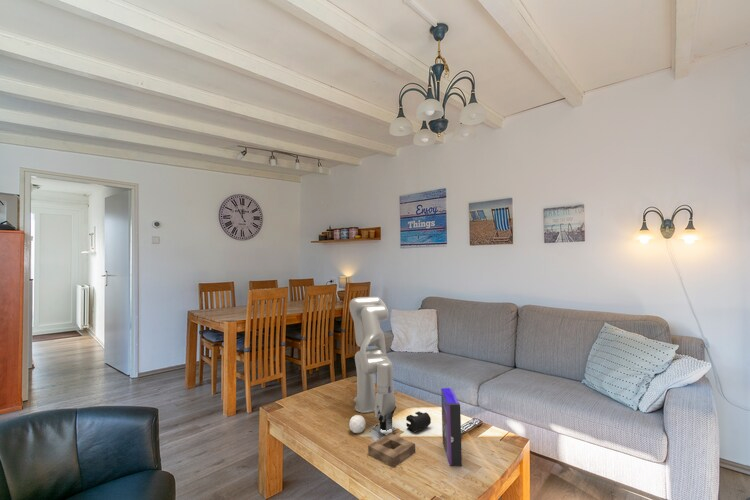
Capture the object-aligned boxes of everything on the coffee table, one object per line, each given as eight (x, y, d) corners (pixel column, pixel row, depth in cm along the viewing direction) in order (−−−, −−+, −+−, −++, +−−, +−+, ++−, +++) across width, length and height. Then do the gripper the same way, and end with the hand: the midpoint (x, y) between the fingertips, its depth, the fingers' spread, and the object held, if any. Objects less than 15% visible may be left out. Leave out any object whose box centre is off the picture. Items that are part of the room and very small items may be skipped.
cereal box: (442, 442, 158) (441, 388, 159) (453, 442, 158) (452, 387, 158) (449, 466, 141) (447, 404, 141) (461, 466, 141) (460, 404, 141)
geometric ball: (360, 439, 168) (362, 430, 163) (345, 431, 170) (346, 422, 166) (367, 425, 174) (369, 416, 169) (352, 417, 176) (354, 408, 171)
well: (368, 454, 151) (368, 445, 151) (390, 440, 161) (390, 432, 161) (393, 467, 141) (393, 458, 141) (415, 452, 151) (415, 443, 151)
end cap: (416, 435, 165) (416, 420, 165) (405, 429, 171) (405, 415, 171) (431, 428, 172) (430, 414, 172) (420, 423, 177) (420, 409, 177)
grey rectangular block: (380, 433, 168) (379, 411, 168) (385, 430, 171) (385, 409, 171) (386, 436, 165) (386, 414, 165) (392, 432, 168) (391, 411, 168)
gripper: (390, 381, 177) (391, 418, 177) (366, 391, 165) (367, 431, 165) (402, 384, 172) (403, 423, 171) (378, 395, 160) (379, 437, 159)
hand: (386, 427), depth 168 cm, fingers closed on grey rectangular block, 4 cm apart
